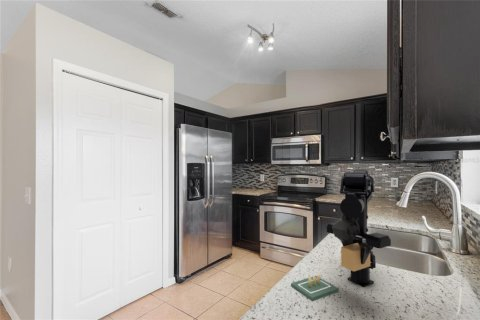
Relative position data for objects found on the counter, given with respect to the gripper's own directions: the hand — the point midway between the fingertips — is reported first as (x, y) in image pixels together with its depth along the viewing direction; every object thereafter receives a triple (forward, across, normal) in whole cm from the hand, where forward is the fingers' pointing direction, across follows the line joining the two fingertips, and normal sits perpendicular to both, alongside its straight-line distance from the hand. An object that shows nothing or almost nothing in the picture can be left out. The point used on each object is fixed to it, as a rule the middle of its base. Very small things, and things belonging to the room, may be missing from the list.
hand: (355, 261), depth 73 cm
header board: (+12, -11, -7) cm, 18 cm away
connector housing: (+2, 0, 0) cm, 2 cm away
